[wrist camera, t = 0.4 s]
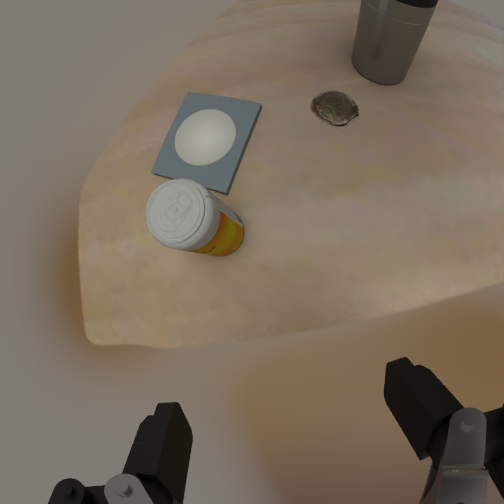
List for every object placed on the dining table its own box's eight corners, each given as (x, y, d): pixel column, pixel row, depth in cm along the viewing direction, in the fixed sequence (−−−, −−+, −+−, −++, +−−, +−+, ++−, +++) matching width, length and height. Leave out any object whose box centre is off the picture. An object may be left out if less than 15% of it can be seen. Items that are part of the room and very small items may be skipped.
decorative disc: (333, 85, 36) (333, 81, 35) (364, 111, 35) (365, 108, 34) (302, 107, 37) (302, 103, 36) (334, 135, 36) (335, 132, 35)
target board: (190, 95, 39) (187, 91, 38) (262, 107, 37) (260, 102, 36) (154, 174, 39) (150, 171, 38) (227, 194, 37) (225, 192, 36)
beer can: (191, 232, 38) (129, 211, 23) (223, 200, 37) (178, 160, 22) (220, 266, 37) (169, 264, 22) (254, 233, 36) (224, 209, 22)
